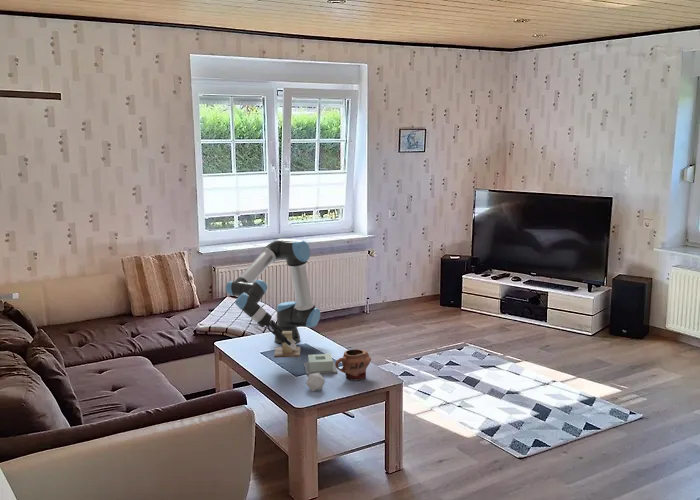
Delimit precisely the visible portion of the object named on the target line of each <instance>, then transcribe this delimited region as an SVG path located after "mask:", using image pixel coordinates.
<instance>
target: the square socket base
mask: <svg viewBox="0 0 700 500" xmlns="http://www.w3.org/2000/svg"><path fill="white" fill-rule="evenodd" d="M335 364H336V362H335V361H333V357H332V355H331V353H322V354H321V353H320V354H319V353H317V354H315V353H314V354H307V362H304V363H303V365H304V366H303V367H304V370H305V375H306V376H309V374H314V373H320V374H321V375H330V374H331V375H333V374H334V375H335V374H338V369H337V368H336V365H335Z"/></svg>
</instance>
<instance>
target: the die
mask: <svg viewBox="0 0 700 500" xmlns="http://www.w3.org/2000/svg"><path fill="white" fill-rule="evenodd" d="M325 383H326V380H325V378H324V377H323V375H322V374H320V373H314V374H309V375H307V379H306V381H305V385H306V386H307V387H308V388H309V390H310V391H311V392H317V391H322V390H323V387H324V385H325Z"/></svg>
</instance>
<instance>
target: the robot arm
mask: <svg viewBox="0 0 700 500" xmlns="http://www.w3.org/2000/svg"><path fill="white" fill-rule="evenodd" d="M310 254H311V248H310V245H309V244H308V243H307V241H305V240H301V239H291V238H289V239H288V238H279V239H275V240H273V241H271V242H270V243H268V244H267V245H266V246H264V248H263V249H261V252H260V254H259V255H258V256H257V257H256V259H255V260H253V262H252V263H251V264H250V265H249V266H248V267H247V268H246V269H245V270H244V271H243V272H242V273H241V274H240V275H239V276H238V277H237V278H236V279H235V280H229V281H228V282H227V283H226V285H225V291H226V294H228V295H229V296H232V297H233V296H234V297H237V298H236V299H235V305H236V306H237V307H238V308H239V309H240V310H241V311H242V312H244V313H245V314H246V315H247V316H248V317H250V320H251V321H253V322H255V323H257V325H258V326H260V327H261V328H264V327H267V329H268V331H269V332H270V333H271V334H273V335H274V342H275V343H276V344H277V343H278V344H279V345H280V344H281V345H282V343H285V344H287V345H288V346H289V347H290V348H291V349H292V350H294V349H295V348H296V347H298V346H297V345H296V343H299V342H300V341H301V334H300V332H299V330H298V327H306V328H314V327H316V326H317V325H318V324H319V321H320V318H321V310H320V308H318V307H316V303H315V301H313V300H312V296H311V291H310V285H309V279H308V273H307V267H306V264H307V263H308V260H309V259H310V256H311V255H310ZM278 260H285V261H286V265H287V267H290V273H291V279H292V285H293V289H294V296H295V301H284V302H281V303H279V304H277V306H276V322H275V321H274V320H273V319H272V315H271V314H270V313H269V312H267V311H266V309H264V308H263V307H262V306H261V305H259V304H258V303H259V301H260V300H261V299H262V298H263V297H264V295H265V294H266V293H267V291H268V285H267V283H266V282H265V281H264V280H262V279H258V278H259V277H260V275H262V274H263V273H264V271H265V270H266V269H267V268H268V267H269V266H270V265H271V264H275V262H276V261H278ZM282 331H292V342H291V341H290V340H289V339H288V338H286V337H285V336H284V335H283V334H282Z"/></svg>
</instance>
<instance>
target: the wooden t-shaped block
mask: <svg viewBox="0 0 700 500" xmlns="http://www.w3.org/2000/svg"><path fill="white" fill-rule="evenodd" d="M282 334H283V335H284V336H285V337H286V338H288V339H289V340H290V341H291V342H292V331H282ZM300 357H301V346H297V347H296V348H295V349H294V350H292V349H291V348H290V347H289V346H288V345H287V344H285V343H282V344H281V347H280V346H279V347H278V346H277V347H275V348H274V354H273V358H300Z"/></svg>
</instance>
